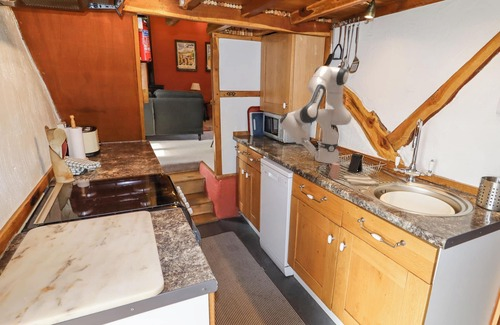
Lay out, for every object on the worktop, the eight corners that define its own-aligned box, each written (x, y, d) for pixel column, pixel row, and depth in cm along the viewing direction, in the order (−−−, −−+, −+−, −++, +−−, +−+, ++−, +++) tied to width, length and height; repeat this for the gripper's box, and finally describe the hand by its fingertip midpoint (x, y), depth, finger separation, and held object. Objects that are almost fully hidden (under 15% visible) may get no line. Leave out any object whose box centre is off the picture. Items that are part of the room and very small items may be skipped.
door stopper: (355, 173, 184) (357, 155, 181) (347, 171, 189) (349, 154, 185) (362, 171, 190) (365, 154, 186) (354, 169, 194) (357, 152, 191)
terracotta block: (330, 176, 175) (331, 163, 173) (336, 177, 175) (338, 163, 173) (332, 178, 171) (333, 164, 169) (338, 179, 171) (340, 165, 169)
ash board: (342, 176, 176) (342, 175, 175) (367, 177, 176) (367, 175, 176) (351, 185, 161) (351, 183, 161) (378, 186, 162) (378, 184, 161)
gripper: (308, 136, 156) (323, 154, 158) (301, 130, 175) (315, 146, 178) (299, 143, 157) (315, 161, 159) (293, 137, 176) (307, 153, 179)
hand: (315, 153), depth 169 cm, fingers open, 8 cm apart
